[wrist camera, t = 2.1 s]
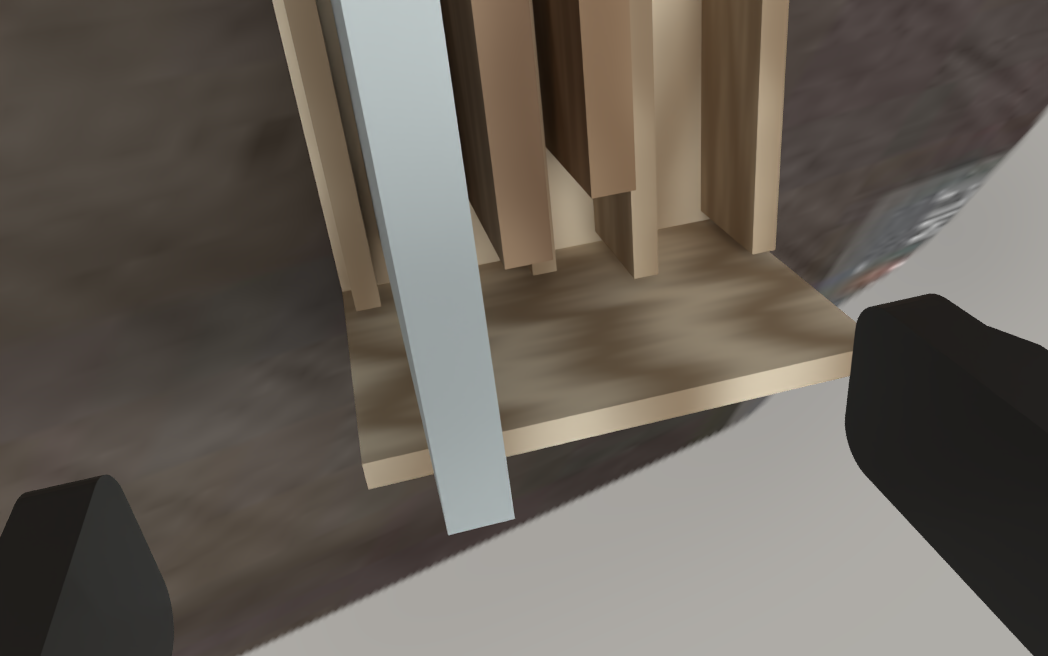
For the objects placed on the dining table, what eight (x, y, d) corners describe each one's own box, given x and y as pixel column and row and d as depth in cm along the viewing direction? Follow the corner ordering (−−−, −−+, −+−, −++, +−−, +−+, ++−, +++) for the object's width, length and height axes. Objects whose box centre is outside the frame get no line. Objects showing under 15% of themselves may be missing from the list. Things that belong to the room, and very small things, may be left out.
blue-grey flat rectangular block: (380, 240, 35) (448, 535, 19) (285, -216, 27) (274, -324, 11) (417, 232, 35) (514, 518, 20) (336, -221, 27) (391, -333, 12)
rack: (345, 297, 37) (368, 489, 26) (198, -318, 26) (123, -462, 15) (710, 224, 40) (879, 369, 28) (718, -362, 29) (998, -512, 17)
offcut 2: (540, 141, 34) (591, 198, 28) (513, -136, 29) (570, -136, 23) (577, 134, 35) (636, 190, 29) (557, -141, 30) (624, -143, 24)
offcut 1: (457, 179, 34) (505, 269, 27) (407, -157, 28) (450, -165, 21) (495, 172, 35) (553, 260, 27) (454, -162, 28) (512, -172, 21)
